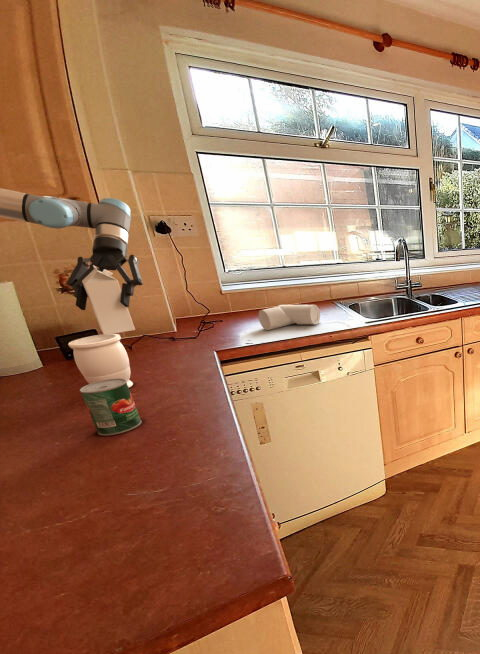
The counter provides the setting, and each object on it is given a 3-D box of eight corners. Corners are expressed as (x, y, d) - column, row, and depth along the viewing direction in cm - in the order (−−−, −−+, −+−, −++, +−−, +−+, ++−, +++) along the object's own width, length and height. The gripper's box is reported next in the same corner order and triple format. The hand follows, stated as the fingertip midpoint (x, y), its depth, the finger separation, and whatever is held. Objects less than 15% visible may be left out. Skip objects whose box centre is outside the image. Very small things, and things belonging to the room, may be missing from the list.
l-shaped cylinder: (301, 314, 193) (257, 324, 178) (299, 292, 188) (254, 301, 173) (326, 328, 186) (283, 340, 170) (325, 305, 181) (281, 316, 166)
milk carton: (104, 335, 122) (78, 269, 115) (101, 331, 126) (76, 266, 119) (135, 330, 127) (112, 266, 120) (131, 326, 131) (109, 263, 124)
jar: (123, 379, 127) (105, 331, 121) (146, 384, 124) (128, 335, 118) (80, 394, 118) (58, 342, 112) (103, 399, 114) (82, 346, 109)
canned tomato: (100, 425, 101) (82, 383, 97) (142, 416, 105) (127, 375, 101) (95, 439, 95) (76, 395, 91) (141, 428, 99) (124, 386, 95)
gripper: (160, 250, 135) (156, 309, 127) (73, 253, 129) (63, 316, 121) (148, 233, 129) (142, 295, 121) (55, 236, 122) (43, 302, 114)
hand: (102, 306), depth 121 cm, fingers closed on milk carton, 9 cm apart
